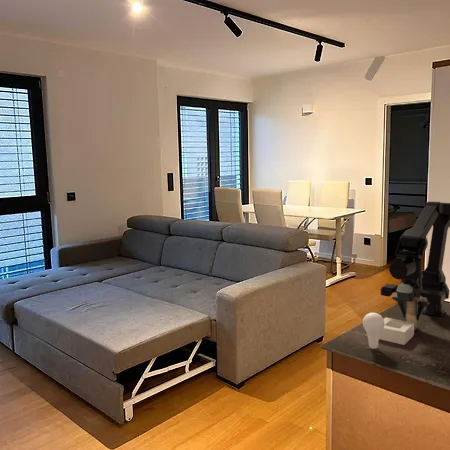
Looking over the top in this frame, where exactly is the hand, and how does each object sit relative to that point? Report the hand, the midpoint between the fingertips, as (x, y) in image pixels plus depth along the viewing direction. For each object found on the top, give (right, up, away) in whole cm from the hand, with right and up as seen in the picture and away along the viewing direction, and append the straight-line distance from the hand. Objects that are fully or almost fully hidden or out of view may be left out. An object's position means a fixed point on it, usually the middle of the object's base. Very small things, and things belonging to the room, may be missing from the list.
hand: (411, 318), depth 148 cm
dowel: (0, -3, 0) cm, 3 cm away
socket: (-8, -4, -6) cm, 11 cm away
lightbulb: (-17, -6, -14) cm, 23 cm away
